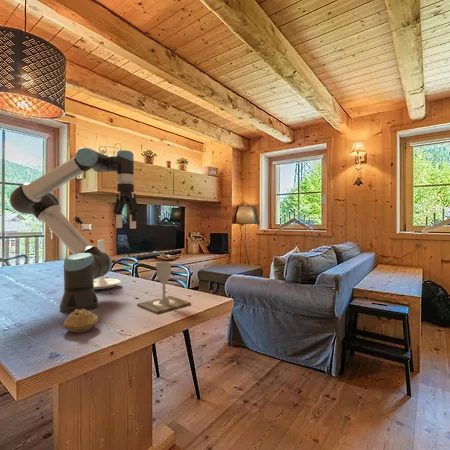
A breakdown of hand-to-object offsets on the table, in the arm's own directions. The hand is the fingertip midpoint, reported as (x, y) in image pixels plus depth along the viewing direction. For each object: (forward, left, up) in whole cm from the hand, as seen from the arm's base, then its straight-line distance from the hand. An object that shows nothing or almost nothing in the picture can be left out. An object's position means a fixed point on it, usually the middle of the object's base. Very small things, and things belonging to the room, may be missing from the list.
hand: (125, 228), depth 138 cm
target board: (+8, -20, -35) cm, 41 cm away
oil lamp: (-29, -22, -35) cm, 50 cm away
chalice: (+8, -20, -34) cm, 40 cm away
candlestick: (0, +33, -35) cm, 48 cm away
